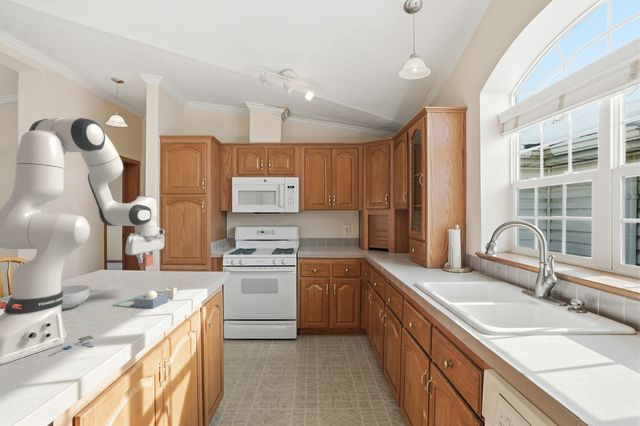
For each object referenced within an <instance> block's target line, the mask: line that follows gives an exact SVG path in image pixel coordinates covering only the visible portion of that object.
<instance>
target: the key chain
mask: <svg viewBox="0 0 640 426" xmlns="http://www.w3.org/2000/svg"><path fill="white" fill-rule="evenodd" d="M92 339H94V337H93V336H92V335H86V336H81V337H79V338H77V340H78V341H77V342H75V343H74V342H73V343H72V342H71V343H69V344H68V346H64V347H62V348H61V349H60V350H57V351H55V352H53V353H51V354H49V355H48V357H50V356H52V355H55V354H57V353H60V352H61V351H64V350H68V349H71V348H72V349H73V348H74V346H77V345H78V346H80V347H81V346H82V347H89V348H93V347H94V346H95V345H94V344H91V342H89V341H88V340H92ZM85 341H88V342H85ZM71 345H74V346H71Z"/></svg>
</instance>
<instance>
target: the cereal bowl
mask: <svg viewBox="0 0 640 426" xmlns="http://www.w3.org/2000/svg"><path fill="white" fill-rule="evenodd" d="M61 291H62V292H63V303H62V306H61V309H62V311H65V310H70V309H74V308H76V307H77V306H78V305H80V304H82V303H83V302H86V300H87V299H88V298H89V296H90V292H91V287H90V286H88V285H67V286H61Z"/></svg>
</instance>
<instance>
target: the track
mask: <svg viewBox="0 0 640 426" xmlns="http://www.w3.org/2000/svg"><path fill="white" fill-rule="evenodd" d="M154 291H155V290H154ZM155 292H156V293H157V294H164V291H155ZM147 293H148V292H146V293H143V294H140V295H138V296H134V297H132V298H129V299H126V300H123V301H120V302H117V303H114V304H112V306H113V307H122V308H133V307H134V304H132V305H125V304H123V303H125V302H134V298H137V297H140V296H143V295H145V294H147Z"/></svg>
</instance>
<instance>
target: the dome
mask: <svg viewBox="0 0 640 426" xmlns="http://www.w3.org/2000/svg"><path fill="white" fill-rule="evenodd" d="M146 293H147V294H146ZM146 293H145V294H146V298H155V297H157V293H156V292H155V290H149V291H148V292H146Z"/></svg>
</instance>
